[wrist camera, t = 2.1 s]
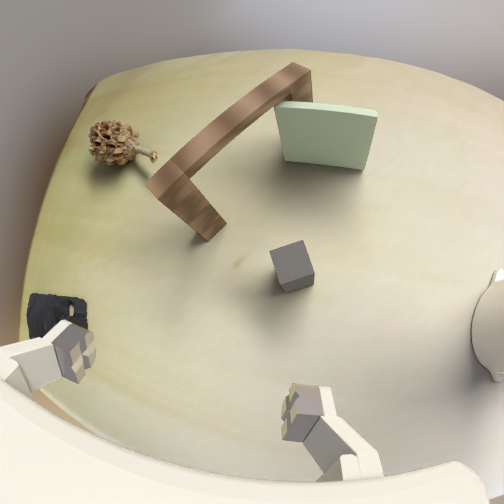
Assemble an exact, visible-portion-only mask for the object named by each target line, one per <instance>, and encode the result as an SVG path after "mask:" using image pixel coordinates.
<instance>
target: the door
mask: <svg viewBox="0 0 504 504" xmlns="http://www.w3.org/2000/svg"><path fill="white" fill-rule="evenodd" d="M274 111H275V115H276V120H277V125H278V129H279V134H280V139H281V143H282V148H283V153H284V158H285V161H292V162H303V163H313V164H322V165H330V166H338V167H346V168H353V169H360V170H364V169H365V165H366V161H367V158H368V154H369V150H370V146H371V142H372V138H373V134H374V130H375V126H376V122H377V110H371V109H364V108H358V107H350V106H342V105H333V104H323V103H311V102H295V101H279V102H278V103H277V104H276V105H274Z"/></svg>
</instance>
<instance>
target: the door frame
mask: <svg viewBox="0 0 504 504" xmlns="http://www.w3.org/2000/svg"><path fill="white" fill-rule="evenodd" d="M279 101H295V102H311V103H313V96H312V82H311V70H310V69H307V68H305V67H303V66H301V65H298V64H296V63H294V62H292V63H291V64H289V65H288V66H286V67H285V68H283V69H282V70H280V71H279V72H277V73H276V74H274V75H273V76H271V77H270V78H268V79H267V80H266V81H264V82H263V83H261V84H260V85H259V86H257V87H256V88H254V89H253V90H252V91H250V92H249V93H248V94H246V95H245V96H244V97H242V98H241V99H240V100H238V101H237V102H236V103H235V104H233V105H232V106H231V107H229V108H228V109H227V110H226V111H224V112H223V113H222V114H221V115H219V116H218V117H217V118H216V119H215V120H213V121H212V122H211V123H210V124H209V125H207V126H206V127H205V128H204V129H203V130H202V131H200V132H199V133H198V134H197V135H196V136H195V137H194V138H192V139H191V140H190V141H189V142H188V143H187V144H186V145H185V146H184V147H182V148H181V149H180V150H179V151H178V152H177V153H176V154H175V155H174V156H173V157H172V158H171V159H170V160H169V161H168V162H166V163H165V164H164V165H163V166H162V167H161V168H160V169H159V170H158V171H157V172H156V173H155V174H154V175H153V176H152V177H151V178H150V179H149V180H148V181H147V182H146V183H145V185H146V187H147V188H148V189H149V190H150V191H151V192H152V193H153V195H154V196H155V197H156V198H157V199H158V200H159V201H160V202H161V203H163V204H164V205H165V206H166V207H167V208H169V209H170V210H171V211H172V212H173V213H175V214H176V215H177V216H178V217H179V218H181V219H182V220H183V221H184V222H185V223H187V224H188V225H189V226H190V227H192V228H193V229H194V230H195V231H196V232H198V233H199V234H200V235H201V236H202V237H204V238H205V239H206V240H207V241H210V240H211V239H212V238H213V237H214V236H215V235H216V234H217V233H218V232H219V231H220V230H221V229H222V228H223V227H224V226H225V225H226V224H227V223H226V222H225V221H224V220H223V218H222V217H221V216H220V215H219V214H218V212H217V211H216V210H215V209H214V208H213V207H212V205H211V204H210V203H209V202H208V201H207V199H206V198H205V197H204V196H203V195H202V193H201V192H200V191H199V190H198V189H197V188H196V186H195V185H194V184H193V183H192V182H191V180H190V178H191V177H192V176H193V175H194V174H195V173H196V172H197V171H198V170H200V169H201V168H202V167H203V166H204V165H205V164H206V163H207V162H208V161H209V160H210V159H211V158H213V157H214V156H215V155H216V154H217V153H218V152H219V151H220V150H221V149H223V148H224V147H225V146H226V145H227V144H228V143H229V142H231V141H232V140H233V139H234V138H235V137H236V136H237V135H239V134H240V133H241V132H242V131H243V130H245V129H246V128H247V127H248V126H249V125H251V124H252V123H253V122H254V121H255V120H257V119H258V118H259V117H260V116H262V115H263V114H264V113H265V112H267V111H268V110H269V109H270V108H272V107H273V106H274V105H276V104H277V103H278V102H279Z"/></svg>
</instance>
